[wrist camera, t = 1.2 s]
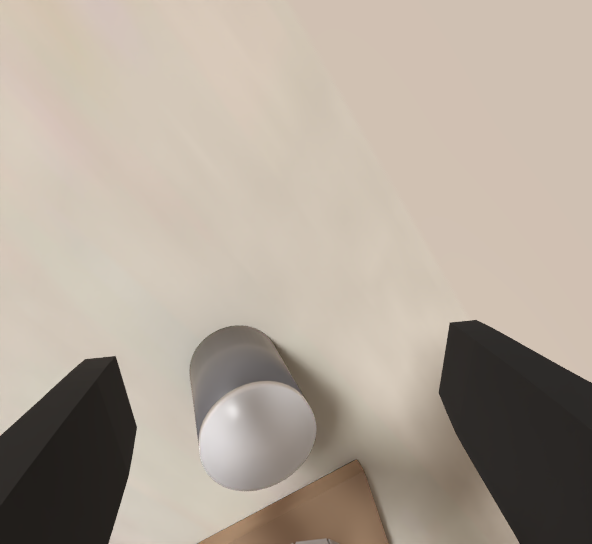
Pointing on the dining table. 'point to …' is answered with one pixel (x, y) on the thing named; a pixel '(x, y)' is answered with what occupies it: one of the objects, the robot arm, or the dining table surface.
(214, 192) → the dining table surface
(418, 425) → the dining table surface
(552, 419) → the robot arm
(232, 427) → the white-capped gray cylinder
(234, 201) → the dining table surface
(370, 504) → the socket board
